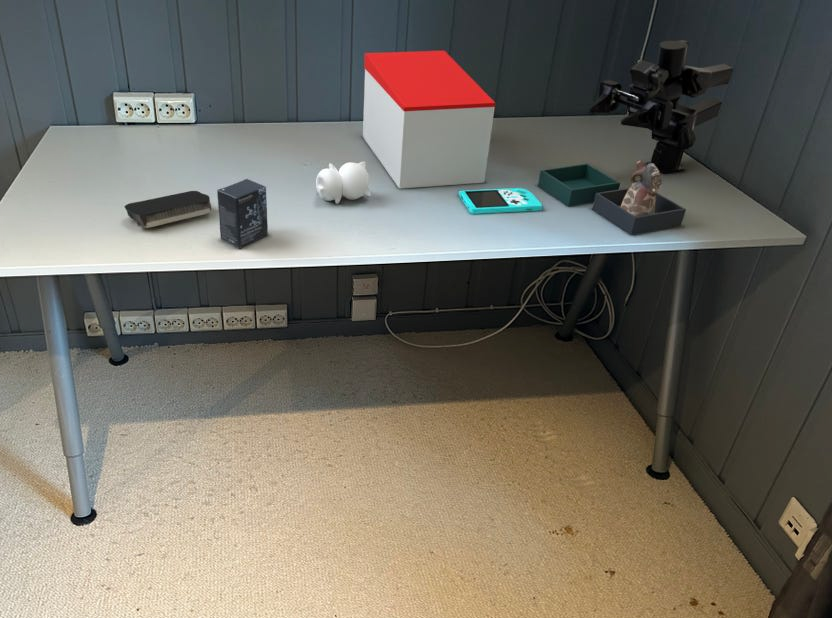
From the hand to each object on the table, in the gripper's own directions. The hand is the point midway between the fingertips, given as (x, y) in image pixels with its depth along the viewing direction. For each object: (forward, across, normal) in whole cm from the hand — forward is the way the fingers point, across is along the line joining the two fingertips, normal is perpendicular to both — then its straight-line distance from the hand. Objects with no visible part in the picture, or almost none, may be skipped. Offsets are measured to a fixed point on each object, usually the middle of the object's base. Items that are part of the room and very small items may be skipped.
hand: (605, 116), depth 160 cm
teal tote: (+8, +1, +15) cm, 17 cm away
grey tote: (+6, +17, +15) cm, 24 cm away
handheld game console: (+27, -3, +12) cm, 30 cm away
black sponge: (+92, -29, +1) cm, 96 cm away
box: (+82, -13, +2) cm, 83 cm away
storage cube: (+28, -33, +12) cm, 45 cm away
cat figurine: (+56, -21, +7) cm, 60 cm away
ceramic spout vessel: (+6, +17, +16) cm, 24 cm away
